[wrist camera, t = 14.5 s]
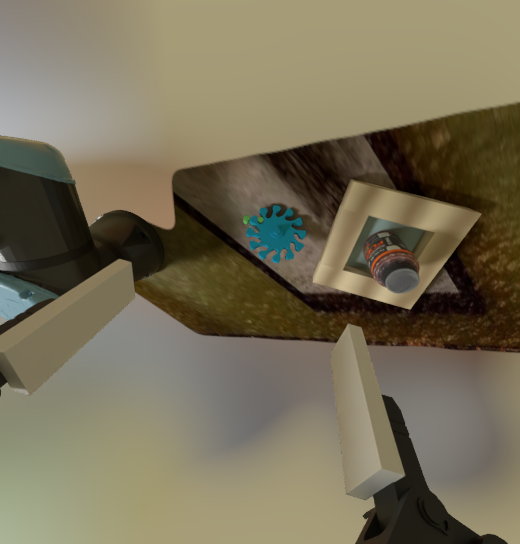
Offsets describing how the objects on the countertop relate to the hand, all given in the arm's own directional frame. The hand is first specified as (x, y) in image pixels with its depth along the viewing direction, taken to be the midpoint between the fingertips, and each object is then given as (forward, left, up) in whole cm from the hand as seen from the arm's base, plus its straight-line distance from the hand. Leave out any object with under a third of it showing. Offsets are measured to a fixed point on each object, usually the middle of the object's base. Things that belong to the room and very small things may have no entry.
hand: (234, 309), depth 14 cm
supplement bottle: (+18, -3, -29) cm, 35 cm away
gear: (0, -5, -30) cm, 30 cm away
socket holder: (+18, -3, -29) cm, 35 cm away
